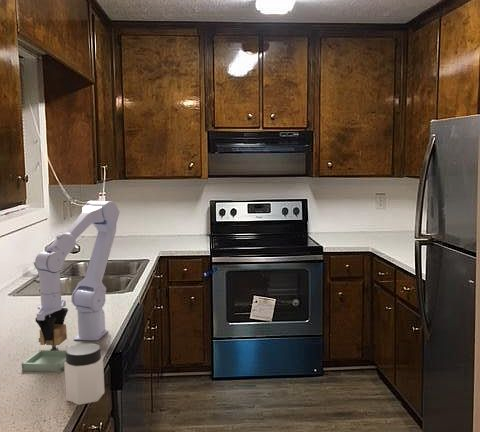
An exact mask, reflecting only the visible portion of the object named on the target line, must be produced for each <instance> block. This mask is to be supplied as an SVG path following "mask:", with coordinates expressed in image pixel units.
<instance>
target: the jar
mask: <svg viewBox="0 0 480 432" xmlns="http://www.w3.org/2000/svg"><path fill="white" fill-rule="evenodd" d="M65 351H66V362H65V363H64V367H65V368H64V378H65V379H64V381H65V397H66V398H65V399H66V401H68V400H69V401H68V402H70V401H71V403H72V402H73V404H75V405H77V406H81V405H86V404H91V403H96V402H99V400H100V399H101V398H102V397H103V395H104V394H105V376H104V373H105V372H104V356H102V347H101V346H100V344H97V343H90V342H89V343H79V344H75V345H72V346H69V347H68V348H67V349H65Z"/></svg>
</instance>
